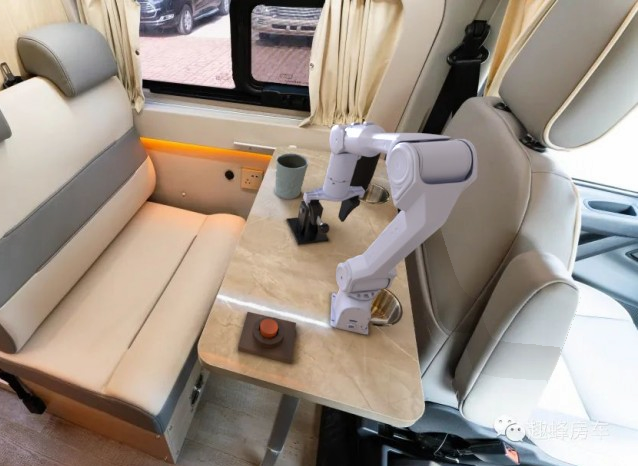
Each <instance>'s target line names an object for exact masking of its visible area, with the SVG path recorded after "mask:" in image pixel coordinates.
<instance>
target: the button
mask: <svg viewBox="0 0 638 466" xmlns="http://www.w3.org/2000/svg"><path fill="white" fill-rule="evenodd" d="M277 330H278V325H277V323H276V322H275V321H274V320H272V319H265V320H263V321H262V322H261V325H260V332H261V334H262V335H263V336H264V337H266V338H273V337H275V336H276V334H277Z"/></svg>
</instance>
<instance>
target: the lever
mask: <svg viewBox="0 0 638 466" xmlns="http://www.w3.org/2000/svg"><path fill="white" fill-rule="evenodd" d="M306 205H307V206H308V203H306ZM308 208H309V207H308ZM308 216H310V211H309V215H308ZM316 223H317V224H318V231H319V233H321V234H326V235H327V234H328V233H329V232H330V230H331V229H330V228H331V227H330V225H329V224H328V223H327V222H323V220H322V218H321V219H320V217H319V216H318V218H317V222H316Z"/></svg>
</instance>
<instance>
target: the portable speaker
mask: <svg viewBox="0 0 638 466" xmlns="http://www.w3.org/2000/svg"><path fill="white" fill-rule="evenodd" d="M381 155H382V153H379V154H378V155H376V156H373V157H366V156H361V158H360V159H359V160H357V163H356V166H355V169H354V173H353V176H352V179H351V183H350V186H353V187H362V188H363V189H364V190H365V193H364V195H365V194H366V193H367V191H368V189H369V187H370V184H371V182H372V181H373V177H374V176H375V172H376V170H377V166H378V163H379V160H380V157H381Z"/></svg>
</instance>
